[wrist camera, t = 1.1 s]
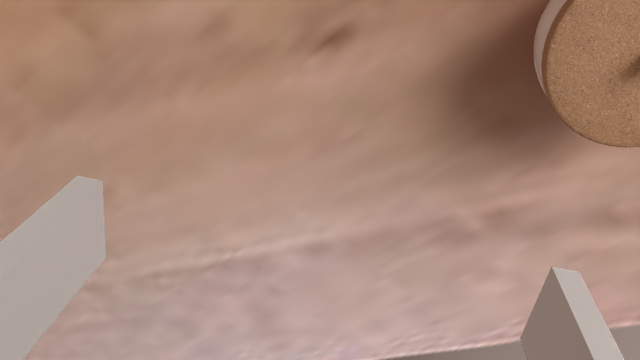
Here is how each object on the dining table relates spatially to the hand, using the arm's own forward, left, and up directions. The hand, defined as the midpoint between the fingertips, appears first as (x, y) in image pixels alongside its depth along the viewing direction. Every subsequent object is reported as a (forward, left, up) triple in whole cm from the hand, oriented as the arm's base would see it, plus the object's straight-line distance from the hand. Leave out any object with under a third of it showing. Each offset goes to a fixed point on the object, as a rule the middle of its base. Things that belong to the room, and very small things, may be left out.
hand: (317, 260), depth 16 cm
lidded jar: (-5, +15, -26) cm, 30 cm away
